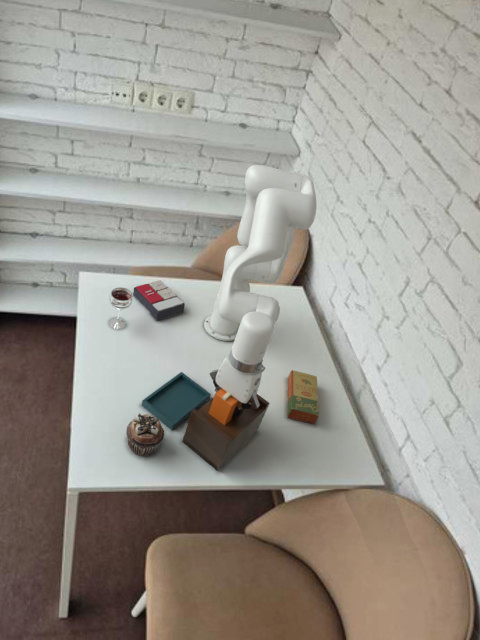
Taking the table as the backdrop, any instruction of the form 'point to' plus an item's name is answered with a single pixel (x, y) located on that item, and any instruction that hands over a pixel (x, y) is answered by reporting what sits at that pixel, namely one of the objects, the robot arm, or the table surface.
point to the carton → (302, 397)
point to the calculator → (159, 300)
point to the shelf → (221, 433)
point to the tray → (176, 400)
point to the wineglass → (120, 304)
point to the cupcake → (144, 434)
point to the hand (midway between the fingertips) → (227, 408)
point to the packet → (223, 406)
